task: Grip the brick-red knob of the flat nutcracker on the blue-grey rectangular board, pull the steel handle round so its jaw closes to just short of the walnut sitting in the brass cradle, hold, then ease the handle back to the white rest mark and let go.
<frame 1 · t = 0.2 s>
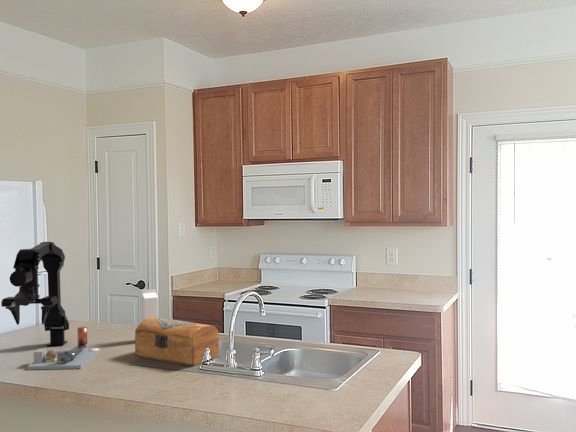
hand: (30, 324, 209), 14 cm above the table, tool pointing down, fingers open, 9 cm apart
lever: (74, 343, 213), point 6 cm above the table, hinge at 0.0°
nut: (51, 355, 207), point 3 cm above the table, touching blue-grey rectangular board
wooden box: (175, 358, 215), on the table
blue-grey rectangular board: (69, 363, 207), on the table
milk: (149, 340, 242), on the table
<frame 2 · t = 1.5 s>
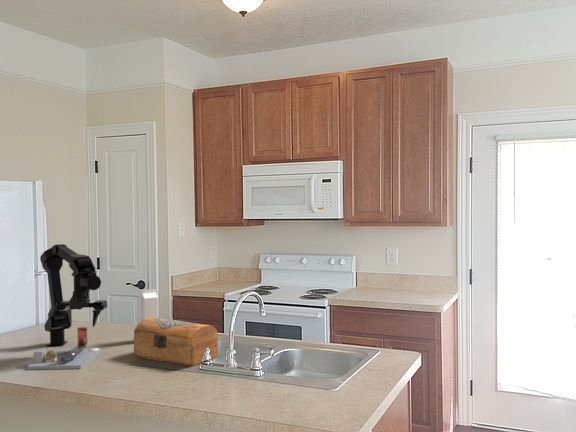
hand: (82, 326, 222), 10 cm above the table, tool pointing down, fingers open, 9 cm apart
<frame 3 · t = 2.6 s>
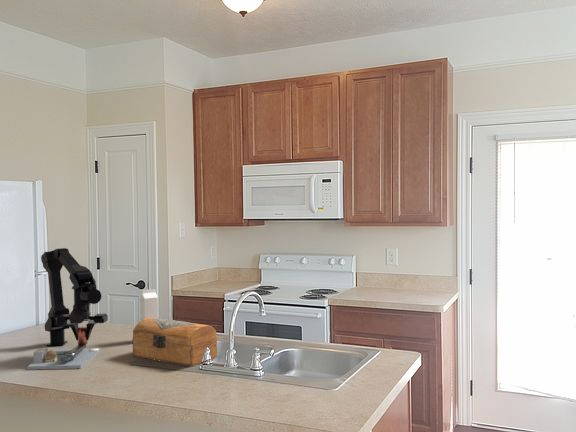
hand: (82, 340, 222), 5 cm above the table, tool pointing down, fingers closed on lever, 4 cm apart
lever: (74, 343, 213), point 6 cm above the table, hinge at 0.0°, touching gripper
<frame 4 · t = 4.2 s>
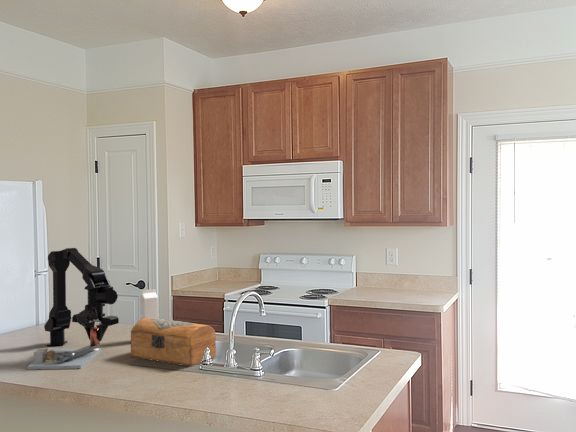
hand: (95, 340, 221), 5 cm above the table, tool pointing down, fingers open, 4 cm apart
lever: (79, 343, 213), point 6 cm above the table, hinge at 20.3°, touching gripper
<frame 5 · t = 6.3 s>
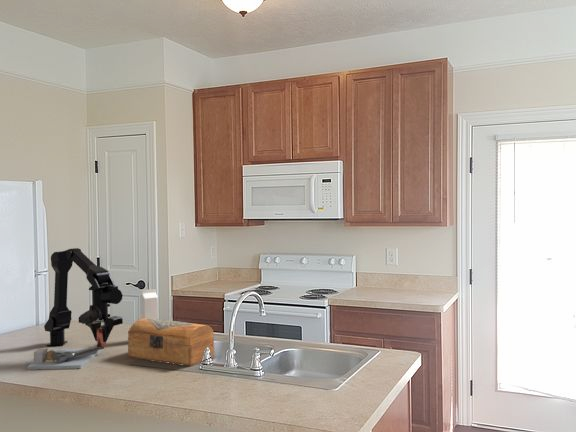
hand: (100, 341, 220), 5 cm above the table, tool pointing down, fingers open, 4 cm apart
lever: (82, 343, 212), point 6 cm above the table, hinge at 33.3°, touching gripper
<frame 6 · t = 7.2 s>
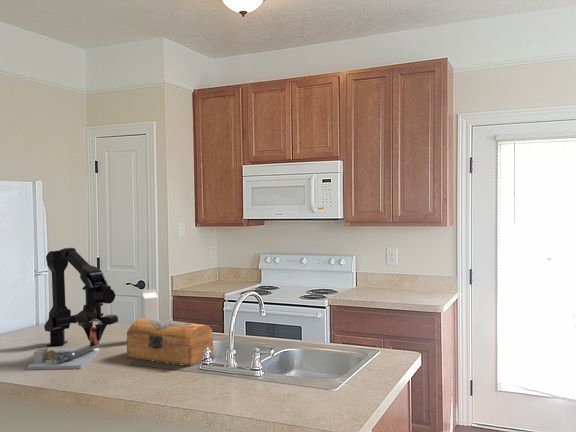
hand: (94, 340, 222), 5 cm above the table, tool pointing down, fingers closed on lever, 4 cm apart
lever: (79, 343, 213), point 6 cm above the table, hinge at 19.3°, touching gripper
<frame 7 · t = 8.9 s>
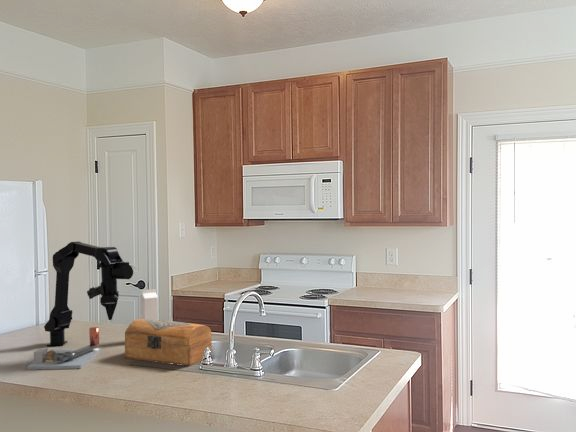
hand: (110, 317, 223), 14 cm above the table, tool pointing down, fingers open, 9 cm apart
lever: (79, 343, 213), point 6 cm above the table, hinge at 19.2°
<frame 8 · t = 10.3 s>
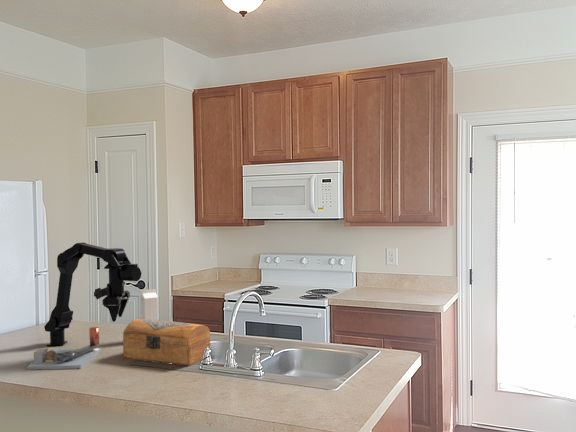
hand: (117, 319, 224), 13 cm above the table, tool pointing down, fingers open, 9 cm apart
at the end: lever at +19° (first picture: +0°); nut moved 0.1 cm from its start; the gripper is holding nothing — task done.
